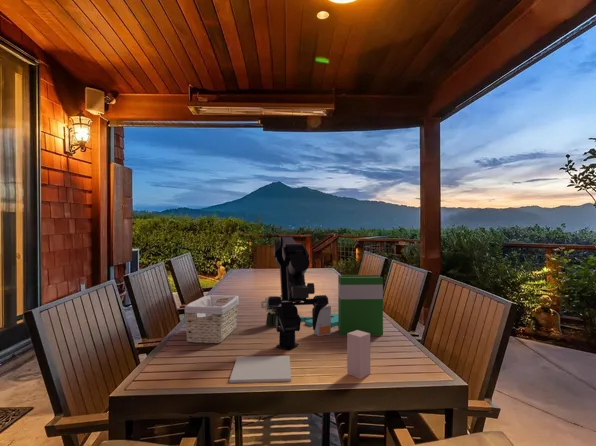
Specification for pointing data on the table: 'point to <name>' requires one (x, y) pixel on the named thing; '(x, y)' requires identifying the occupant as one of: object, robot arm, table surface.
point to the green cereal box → (360, 304)
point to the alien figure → (310, 323)
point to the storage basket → (211, 318)
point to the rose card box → (358, 354)
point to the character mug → (271, 315)
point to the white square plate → (261, 369)
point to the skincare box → (323, 322)
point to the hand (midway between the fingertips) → (299, 330)
